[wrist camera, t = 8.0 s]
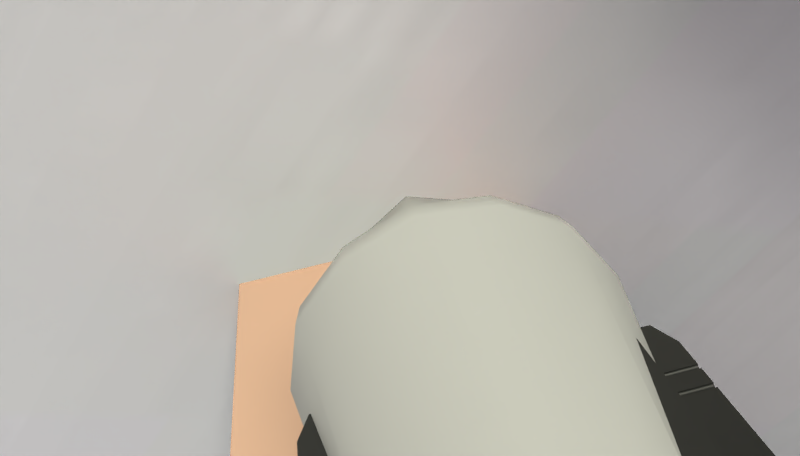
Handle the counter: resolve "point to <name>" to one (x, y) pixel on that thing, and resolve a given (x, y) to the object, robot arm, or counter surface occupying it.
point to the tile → (268, 363)
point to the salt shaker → (474, 341)
